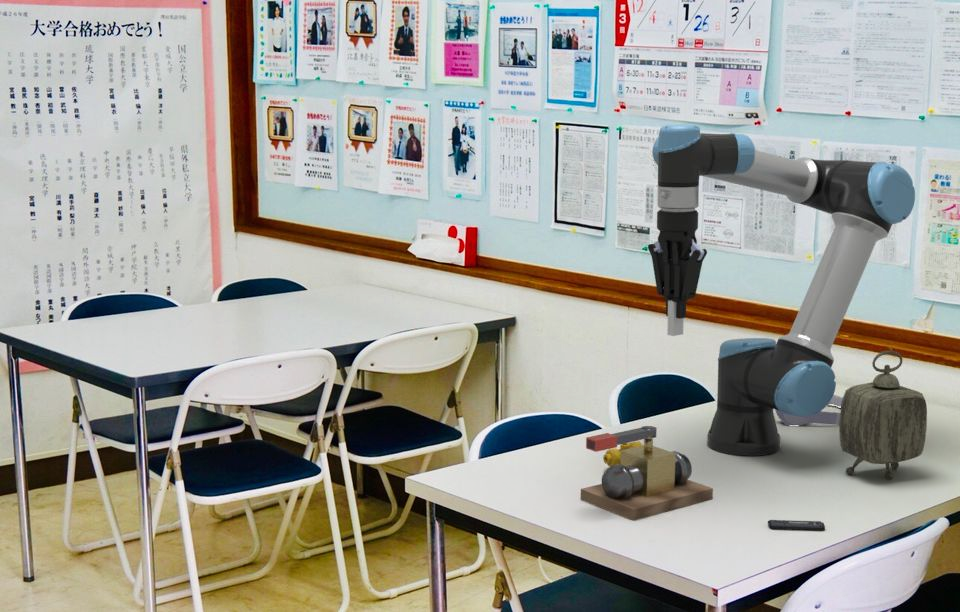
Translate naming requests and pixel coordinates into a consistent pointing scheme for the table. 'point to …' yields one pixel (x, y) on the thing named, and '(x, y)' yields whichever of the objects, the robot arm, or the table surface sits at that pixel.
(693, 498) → the valve plinth
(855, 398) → the tabletop clock
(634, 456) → the pipe valve
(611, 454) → the pressure relief valve
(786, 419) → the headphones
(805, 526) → the usb stick
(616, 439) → the valve lever
